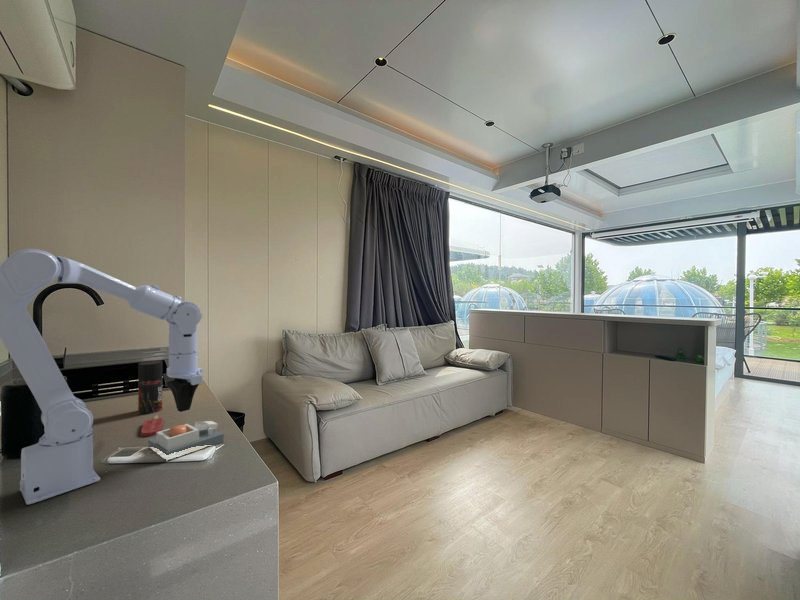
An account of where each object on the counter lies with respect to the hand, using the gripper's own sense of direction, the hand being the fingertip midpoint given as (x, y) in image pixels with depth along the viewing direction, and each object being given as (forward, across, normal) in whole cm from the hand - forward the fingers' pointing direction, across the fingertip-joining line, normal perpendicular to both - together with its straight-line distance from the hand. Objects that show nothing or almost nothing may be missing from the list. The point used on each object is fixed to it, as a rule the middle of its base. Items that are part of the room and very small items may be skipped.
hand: (183, 410), depth 77 cm
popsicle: (+10, +21, 0) cm, 23 cm away
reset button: (+7, 0, +1) cm, 7 cm away
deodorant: (+9, +36, -4) cm, 38 cm away
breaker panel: (+9, +1, -2) cm, 9 cm away
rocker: (+6, 0, -5) cm, 7 cm away
